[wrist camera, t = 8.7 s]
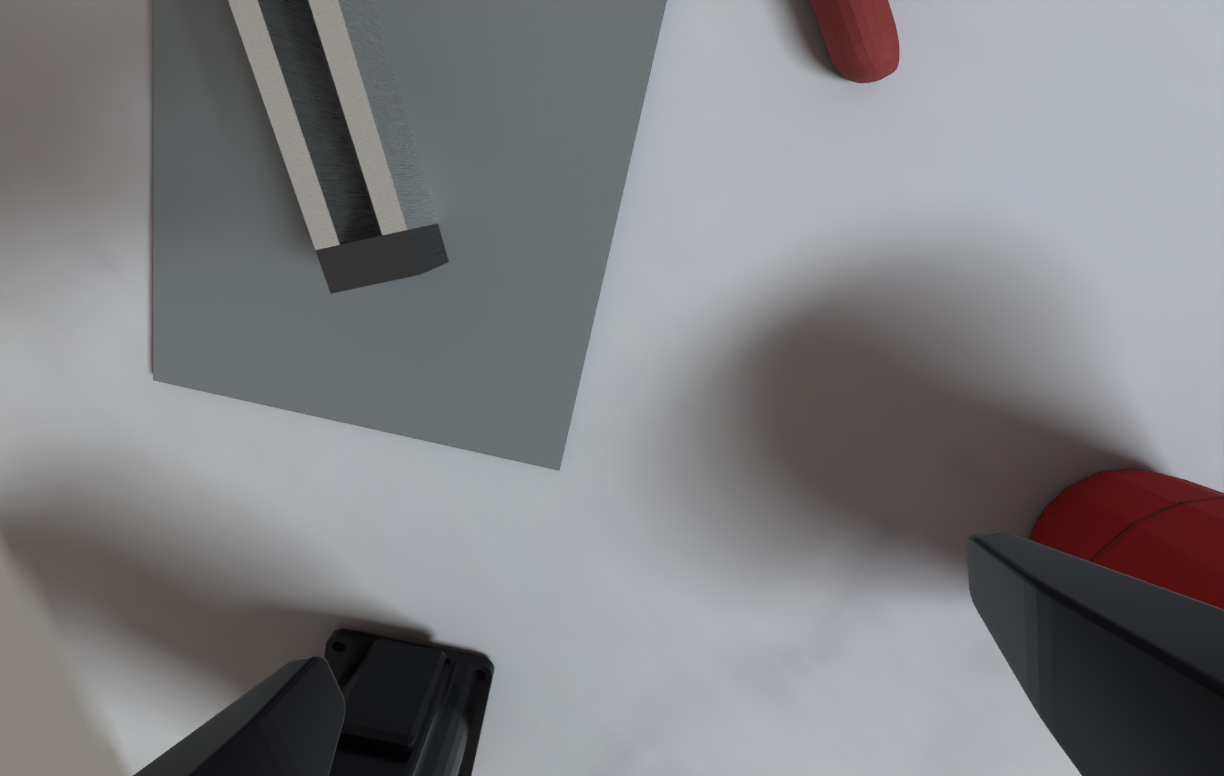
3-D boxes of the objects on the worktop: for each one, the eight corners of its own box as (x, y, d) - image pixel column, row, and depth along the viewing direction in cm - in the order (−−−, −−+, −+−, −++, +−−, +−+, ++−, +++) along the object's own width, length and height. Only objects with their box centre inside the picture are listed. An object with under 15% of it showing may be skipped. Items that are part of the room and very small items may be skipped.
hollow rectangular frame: (420, 274, 17) (273, -212, 14) (330, 293, 17) (165, -181, 14) (449, 261, 20) (331, -148, 16) (370, 278, 20) (239, -122, 17)
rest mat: (560, 465, 22) (559, 470, 22) (161, 376, 21) (153, 379, 21) (697, -137, 17) (698, -144, 16) (164, -282, 16) (153, -293, 15)
